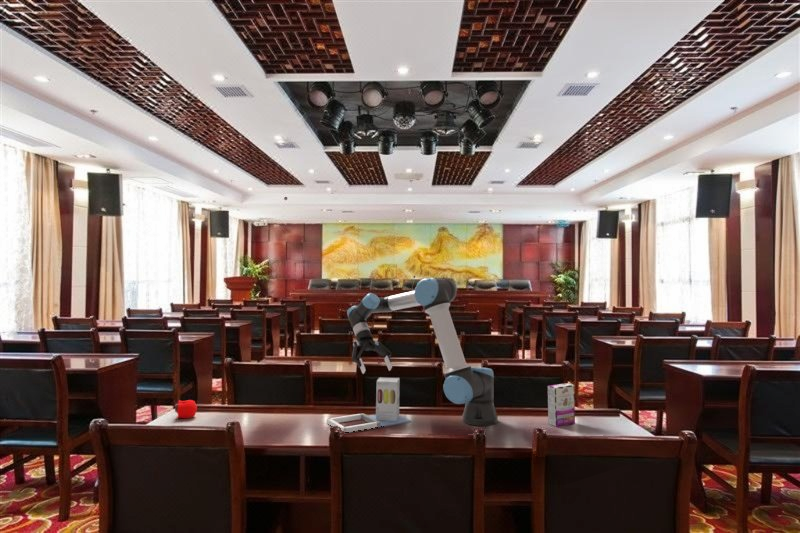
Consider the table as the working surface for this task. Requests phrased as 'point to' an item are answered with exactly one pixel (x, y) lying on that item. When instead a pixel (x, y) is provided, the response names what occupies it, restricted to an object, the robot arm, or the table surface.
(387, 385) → the supplement box
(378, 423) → the bay rack
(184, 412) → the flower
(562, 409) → the candy bar box
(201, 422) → the table surface
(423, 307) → the robot arm
